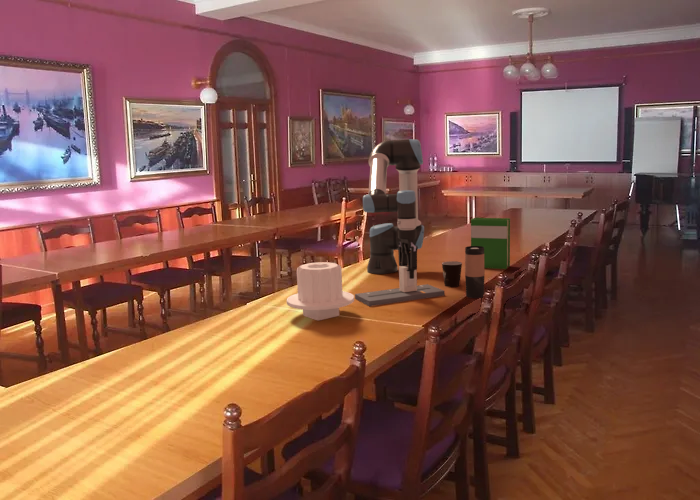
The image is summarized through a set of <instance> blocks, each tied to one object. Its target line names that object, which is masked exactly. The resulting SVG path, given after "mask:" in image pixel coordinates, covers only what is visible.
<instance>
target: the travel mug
mask: <svg viewBox="0 0 700 500" xmlns="http://www.w3.org/2000/svg"><path fill="white" fill-rule="evenodd" d="M464 252H465V255H464V259H465V260H464V264H465V265H464V273H465V274H464V280H465V296H466V297H467V298H471V299H479V298H484V296H483V294H484V295H485V268H484V247H482V246H471V245H469V246H466V247H465V249H464Z"/></svg>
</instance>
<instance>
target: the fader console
mask: <svg viewBox="0 0 700 500" xmlns="http://www.w3.org/2000/svg"><path fill="white" fill-rule="evenodd" d="M444 296H445V290H444V289H442V288H439V287H436V286H434V285H431V284H428V283H427V284H420V285H418V284H417V291H410V292H402V291H400V288H399V287H397V288H390V289H382V290H376V291H368V292H360V293H355V294H354V300H356V301H358V302H360V303H363V304H364V305H366V306H368V307H374V306H375V307H376V306H379V305H380V306H381V305H386V304H388V305H389V304H395V303H401V302H403V303H404V302H408V301H416V300H421V299H429V298H430V299H431V298H437V297H444Z"/></svg>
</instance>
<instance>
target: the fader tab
mask: <svg viewBox="0 0 700 500" xmlns="http://www.w3.org/2000/svg"><path fill="white" fill-rule="evenodd" d="M407 270H408V265H406V266H398V276H399V277H398V279H399V280H398V281H399V286H398V288H400V291H402V292H410V291H417V286H418V278H417V277H418V273H417V271H418V269H417V270H414V286H410V287H408V285H407Z"/></svg>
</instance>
